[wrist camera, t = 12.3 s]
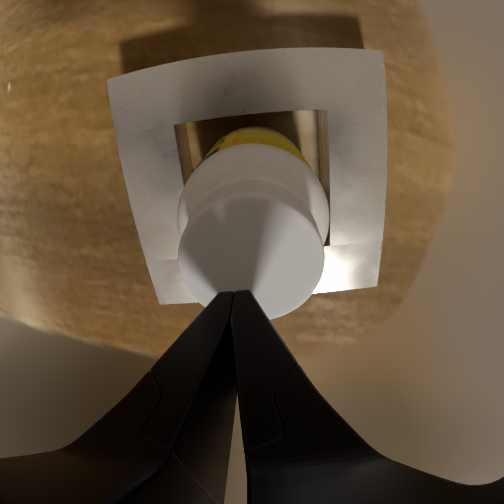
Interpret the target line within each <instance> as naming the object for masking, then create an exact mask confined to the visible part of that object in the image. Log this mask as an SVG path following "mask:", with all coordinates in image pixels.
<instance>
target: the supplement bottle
mask: <svg viewBox="0 0 504 504" xmlns="http://www.w3.org/2000/svg"><path fill="white" fill-rule="evenodd" d="M177 226H178V232H179V236H180V243H179V248H178V266H179V271H180V274H181V277H182V279H183V282H184V284H185V285H186V287H187V289H188V291H189V292H190V293H191V294H192V296H193V297H194V298H195V299H196V300H197V301H198V302H199V303H200V304H202V305H203V306H205V307H206V306H207V305H208V304H209V303H210V302H211V300H212V299H213V298H214V297H215V296H216V295H217V294H218V293H219V292H225V291H233V292H234V293H235V291H237V290H250V291H251V292H252V294H253V295H254V297H255V298H256V300H257V301H258V303H259V305H260V306H261V308H262V309H263V311H264V312H265V314H266V315H267V317H268V318H269V320H270V319H274V318H277V317H280V316H283V315H285V314H287V313H289V312H291V311H293V310H295V309H296V308H298V307H299V306H300V305H302V304H303V303H304V302H305V301H306V300H307V299H308V298H309V297H310V296H311V295H312V293H313V292H314V290H315V289H316V287H317V286H318V284H319V282H320V279H321V277H322V274H323V269H324V263H325V253H324V246H323V245H324V243H325V240H326V237H327V233H328V228H329V206H328V202H327V198H326V195H325V192H324V189H323V187H322V185H321V183H320V181H319V179H318V178H317V176H316V175H315V173H314V172H313V170H312V169H311V167H310V166H309V164H308V163H307V161H306V160H305V159H304V157H303V156H302V154H301V153H300V151H299V150H298V148H297V147H296V146H295V144H294V143H293V142H292V141H291V140H290V139H289V138H287V137H286V136H285V135H284V134H282V133H280V132H278V131H276V130H274V129H271V128H268V127H263V126H245V127H241V128H237V129H235V130H233V131H231V132H229V133H227V134H226V135H224V136H223V137H222V138H220V139H219V140H218V141H217V142H216V143H215V144H214V146H213V147H212V148H211V149H210V151H209V152H208V153H207V154H206V156H205V157H204V158H203V160H202V161H201V162H200V164H199V165H198V166H197V167H196V168H195V170H194V171H193V173H192V174H191V176H190V177H189V179H188V180H187V182H186V184H185V186H184V188H183V190H182V193H181V196H180V199H179V203H178V209H177Z"/></svg>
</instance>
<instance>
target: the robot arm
mask: <svg viewBox="0 0 504 504" xmlns="http://www.w3.org/2000/svg"><path fill="white" fill-rule="evenodd" d="M150 370H151V371H148V372H147V373H146V374H145V375H144V376H143V378H142V379H141V380H140V381H139V382H138V383H137V384H136V385H135V386H134V387H133V388H132V389H131V390H130V391H129V393H128V394H127V395H126V396H125V397H123V398H122V399H121V400H120V401H119V402H118V403H117V404H116V405H115V406H114V407H113V408H112V409H111V410H109V411H108V412H107V413H106V414H105V415H104V416H103V417H102V418H100V419H99V420H98V421H97V422H96V423H95V424H94V425H92V426H91V427H90V428H89V429H88V430H87V431H86V432H84V433H83V434H82V435H81V436H80V437H79V438H78V439H76V440H75V441H74V442H72V443H70V444H69V445H67V446H65V447H63V448H60V449H57V450H54V451H49V452H43V453H36V454H31V455H23V456H15V457H7V458H0V504H224V497H225V490H226V481H227V474H228V466H229V457H230V449H231V440H232V433H233V424H234V416H235V408H236V400H237V394H238V403H239V411H240V421H241V429H242V438H243V445H244V453H245V462H246V472H247V504H504V477H502V478H500V479H499V480H497V481H494V482H492V483H488V484H483V485H466V484H461V483H457V482H454V481H450V480H447V479H444V478H441V477H438V476H435V475H432V474H429V473H426V472H423V471H420V470H418V469H415V468H412V467H410V466H407V465H404V464H402V463H399V462H396V461H394V460H391V459H389V458H387V457H385V456H383V455H382V454H380V453H379V452H377V451H376V450H375V449H373V448H372V447H371V446H369V444H368V443H367V442H366V441H365V440H364V439H363V438H361V437H360V436H359V435H358V433H357V432H356V431H355V430H354V429H353V428H351V426H350V425H349V424H348V423H347V422H346V421H345V420H344V419H343V418H342V417H341V416H340V415H339V414H338V413H337V412H336V411H335V410H334V409H333V408H332V406H330V404H329V403H328V402H327V401H326V400H325V399H324V397H323V396H322V395H321V394H320V393H319V392H318V391H317V389H316V388H315V387H314V385H313V384H312V382H311V381H310V380H309V378H308V377H307V376H306V374H305V373H304V371H303V370H302V368H301V367H300V366H299V365H298V362H297V361H296V359H295V358H294V356H293V355H292V353H291V352H290V350H289V349H288V347H287V346H286V344H285V343H284V341H283V340H282V338H281V337H280V335H279V334H278V332H277V331H276V329H275V328H274V326H273V325H272V323H271V321H270V320H269V318H268V317H267V315H266V314H265V312H264V311H263V309H262V308H261V306H260V305H259V303H258V301H257V300H256V298H255V297H254V295H253V294H252V292H251V291H250V290H237V291H235V293H234V292H233V291H225V292H219V293H218V294H217V295H216V296H215V297H214V298H213V299H212V300H211V302H210V303H209V304H208V305H207V306H206V307H205V308H204V309H203V311H202V312H201V313H200V314H199V315H198V316H197V317H196V318H195V320H194V321H193V322H192V323H191V324H190V325H189V326H188V327H187V329H186V330H185V331H184V332H183V333H182V334H181V335H180V336H179V337H178V339H177V340H176V341H175V342H174V343H173V344H172V345H171V346H170V348H169V349H168V350H167V351H166V352H165V353H164V354H163V355H162V357H161V358H160V359H159V360H158V361H157V362H156V363H155V364H154V365H153V367H152V368H151V369H150Z"/></svg>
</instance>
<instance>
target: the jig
mask: <svg viewBox="0 0 504 504" xmlns="http://www.w3.org/2000/svg"><path fill="white" fill-rule="evenodd" d="M107 84H108V92H109V98H110V105H111V111H112V117H113V123H114V129H115V134H116V140H117V145H118V150H119V155H120V160H121V165H122V169H123V174H124V178H125V183H126V187H127V191H128V196H129V200H130V204H131V208H132V212H133V216H134V220H135V223H136V227H137V231H138V235H139V238H140V242H141V245H142V249H143V252H144V256H145V259H146V262H147V266H148V269H149V272H150V276H151V279H152V282H153V285H154V288H155V291H156V294H157V297H158V300H159V303H160V304H178V303H196V302H198V301H197V300H196V299H195V298H194V297H193V296H192V294H191V293H190V292H189V291H188V289H187V287H186V285H185V284H184V282H183V279H182V277H181V274H180V271H179V266H178V248H179V243H180V236H179V232H178V226H177V209H178V203H179V199H180V196H181V193H182V190H183V188H184V186H185V184H186V182H187V180H188V179H189V177H190V176H191V174H192V173H193V169H192V163H191V157H190V150H189V144H188V137H187V131H186V124H185V123H186V122H193V121H199V120H206V119H213V118H220V117H228V116H237V115H246V114H256V113H267V112H281V111H298V110H317V124H318V141H319V162H320V183H321V185H322V187H323V189H324V192H325V195H326V198H327V202H328V206H329V228H328V233H327V237H326V240H325V243H324V245H323V246H324V253H325V263H324V269H323V274H322V277H321V279H320V282H319V284H318V286H317V287H316V289H315V290H314V292H313V293H322V292H332V291H341V290H350V289H359V288H367V287H375V286H377V282H378V274H379V266H380V258H381V249H382V239H383V228H384V216H385V201H386V181H387V102H386V83H385V69H384V57H383V51H380V50H368V49H353V48H325V47H307V48H278V49H262V50H251V51H241V52H232V53H224V54H217V55H210V56H204V57H198V58H192V59H187V60H182V61H177V62H172V63H167V64H163V65H158V66H154V67H150V68H146V69H142V70H138V71H134V72H131V73H127V74H124V75H120V76H117V77H114V78H110V79H107Z"/></svg>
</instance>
